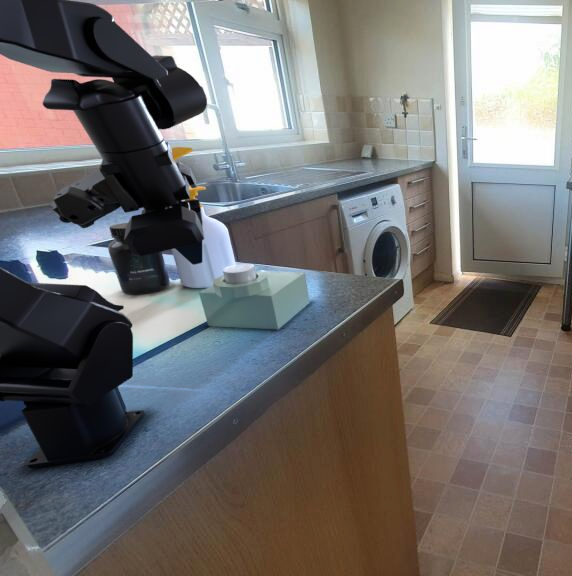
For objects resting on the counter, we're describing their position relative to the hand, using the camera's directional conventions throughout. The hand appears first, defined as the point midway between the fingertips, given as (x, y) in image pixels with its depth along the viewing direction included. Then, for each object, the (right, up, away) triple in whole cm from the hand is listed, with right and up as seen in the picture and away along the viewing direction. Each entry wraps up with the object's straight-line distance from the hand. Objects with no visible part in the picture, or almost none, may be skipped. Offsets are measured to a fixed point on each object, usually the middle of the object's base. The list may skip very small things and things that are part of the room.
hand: (197, 262), depth 53 cm
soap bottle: (-18, -2, +26) cm, 32 cm away
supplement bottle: (-26, -4, +21) cm, 33 cm away
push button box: (0, -8, +14) cm, 16 cm away
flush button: (0, -2, +9) cm, 9 cm away
